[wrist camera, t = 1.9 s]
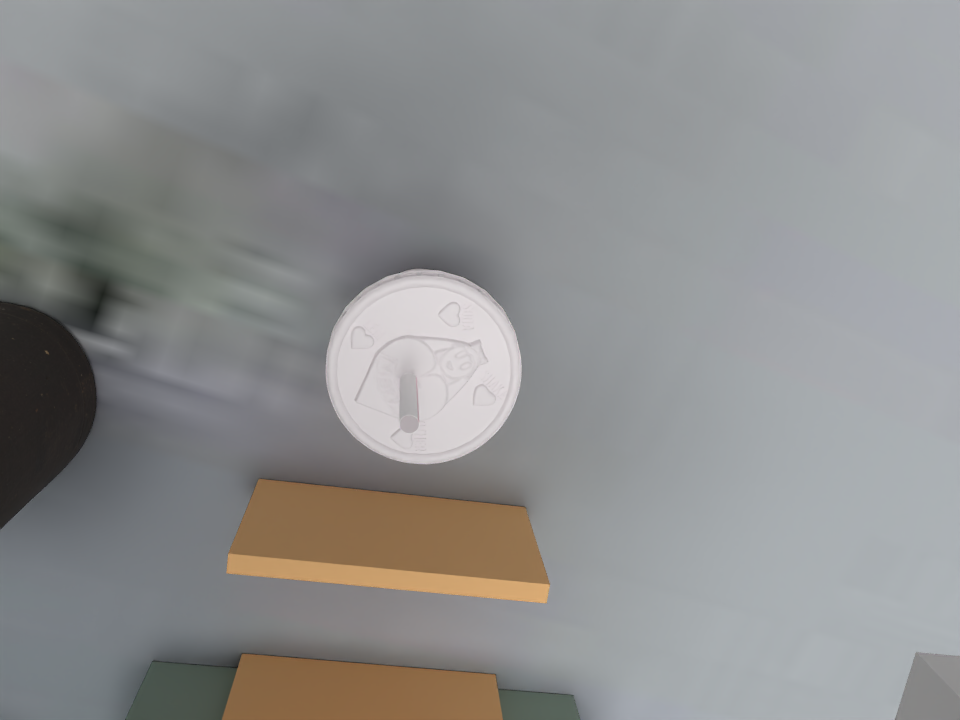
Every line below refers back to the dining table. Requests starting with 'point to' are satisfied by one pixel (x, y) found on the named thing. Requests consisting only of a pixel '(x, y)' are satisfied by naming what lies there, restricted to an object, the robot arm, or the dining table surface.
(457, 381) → the smoothie
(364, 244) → the dining table surface
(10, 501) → the container
